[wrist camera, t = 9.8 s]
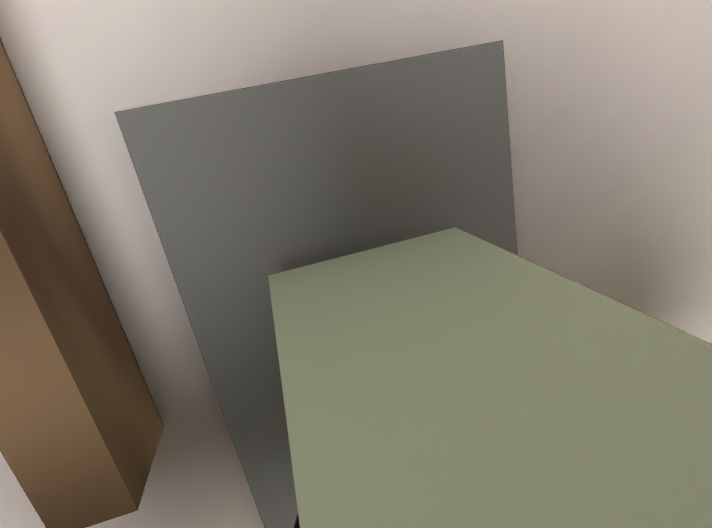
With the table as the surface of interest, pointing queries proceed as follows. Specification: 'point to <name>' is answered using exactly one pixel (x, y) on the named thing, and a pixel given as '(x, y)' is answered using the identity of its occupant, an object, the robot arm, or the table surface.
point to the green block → (485, 395)
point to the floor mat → (312, 206)
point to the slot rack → (62, 347)
